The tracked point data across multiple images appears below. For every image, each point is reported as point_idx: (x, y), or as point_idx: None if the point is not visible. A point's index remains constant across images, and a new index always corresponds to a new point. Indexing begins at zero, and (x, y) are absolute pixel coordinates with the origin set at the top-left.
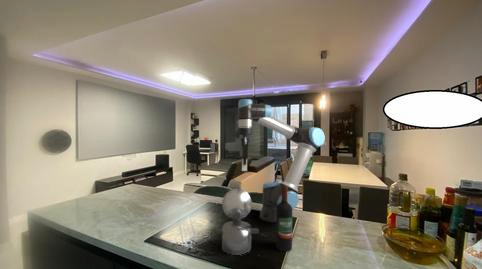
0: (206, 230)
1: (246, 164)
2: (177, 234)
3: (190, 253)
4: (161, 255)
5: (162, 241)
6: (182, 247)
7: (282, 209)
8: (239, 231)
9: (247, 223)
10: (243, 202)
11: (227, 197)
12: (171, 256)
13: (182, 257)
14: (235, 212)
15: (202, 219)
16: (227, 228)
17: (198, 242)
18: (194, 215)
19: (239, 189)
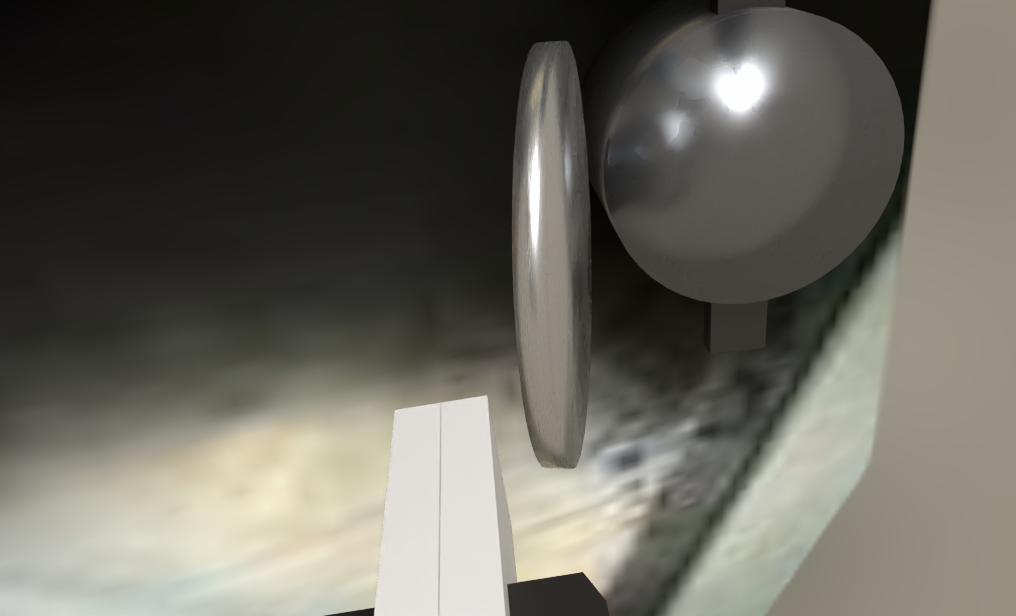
0: (431, 400)
1: (504, 573)
2: (521, 559)
3: (765, 410)
4: (777, 544)
5: (621, 599)
6: (693, 475)
7: None
8: (864, 131)
9: (677, 59)
10: (568, 176)
11: (575, 419)
12: (791, 495)
13: (806, 438)
14: (585, 233)
15: (221, 482)
16: (792, 251)
17: (626, 404)
18: (153, 562)
19: (550, 322)
